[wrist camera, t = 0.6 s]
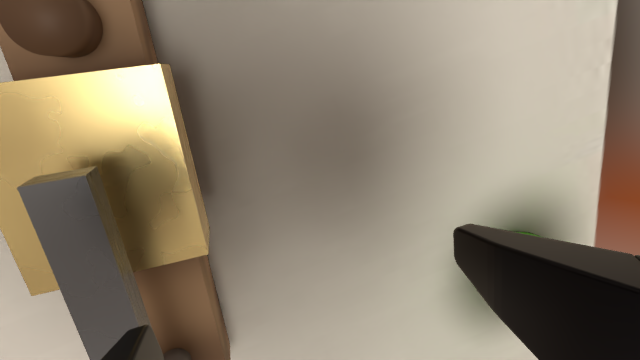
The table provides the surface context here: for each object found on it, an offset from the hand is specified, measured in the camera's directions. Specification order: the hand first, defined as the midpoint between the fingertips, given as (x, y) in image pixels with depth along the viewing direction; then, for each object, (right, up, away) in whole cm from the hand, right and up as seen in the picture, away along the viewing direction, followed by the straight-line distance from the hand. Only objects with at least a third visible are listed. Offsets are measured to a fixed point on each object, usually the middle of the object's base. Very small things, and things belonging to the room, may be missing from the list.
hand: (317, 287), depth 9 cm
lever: (-6, -3, +4) cm, 8 cm away
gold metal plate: (-8, +3, +6) cm, 10 cm away
